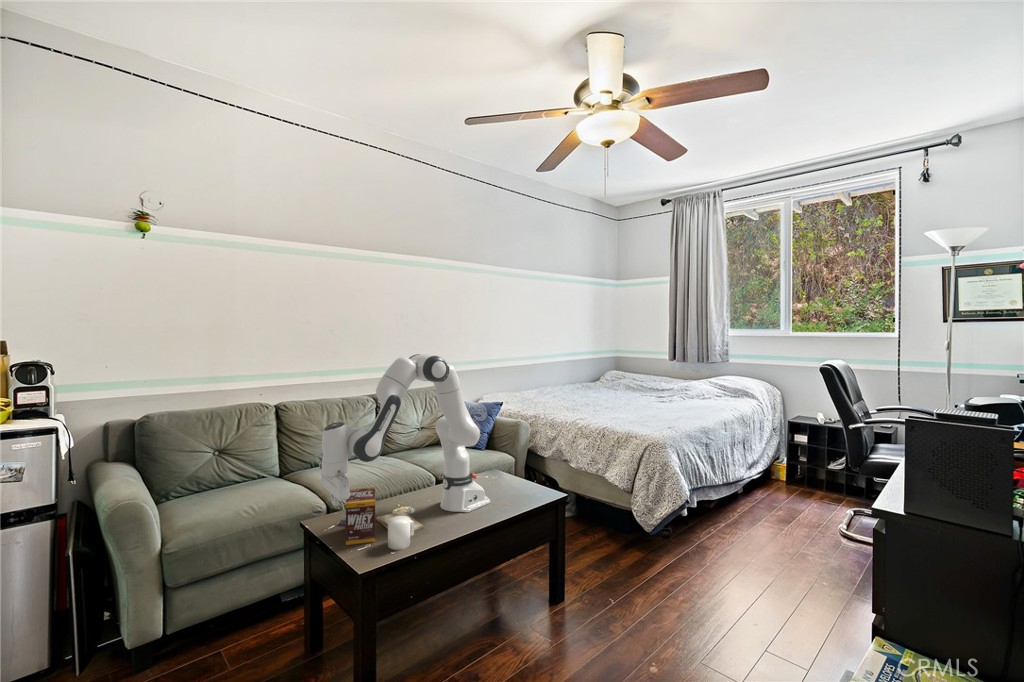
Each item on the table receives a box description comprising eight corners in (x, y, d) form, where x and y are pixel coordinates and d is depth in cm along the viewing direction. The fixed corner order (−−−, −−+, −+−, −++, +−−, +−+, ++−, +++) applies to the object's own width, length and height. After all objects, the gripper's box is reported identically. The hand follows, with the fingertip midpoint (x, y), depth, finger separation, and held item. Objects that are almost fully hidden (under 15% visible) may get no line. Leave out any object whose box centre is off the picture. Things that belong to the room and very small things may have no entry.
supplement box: (345, 545, 172) (345, 503, 171) (347, 527, 187) (347, 488, 186) (375, 542, 175) (375, 500, 174) (375, 524, 189) (375, 486, 189)
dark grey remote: (356, 509, 205) (356, 503, 205) (368, 510, 205) (368, 503, 204) (341, 525, 189) (341, 518, 189) (353, 526, 189) (353, 519, 189)
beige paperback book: (402, 512, 201) (402, 509, 201) (423, 527, 187) (423, 524, 187) (376, 519, 194) (376, 516, 194) (395, 535, 180) (395, 532, 180)
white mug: (407, 536, 180) (407, 513, 179) (417, 544, 173) (417, 520, 173) (384, 543, 174) (384, 519, 173) (393, 551, 168) (393, 527, 167)
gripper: (354, 473, 167) (354, 511, 168) (334, 459, 183) (334, 494, 184) (336, 476, 163) (336, 516, 164) (317, 462, 179) (318, 498, 180)
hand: (335, 504), depth 174 cm, fingers closed
